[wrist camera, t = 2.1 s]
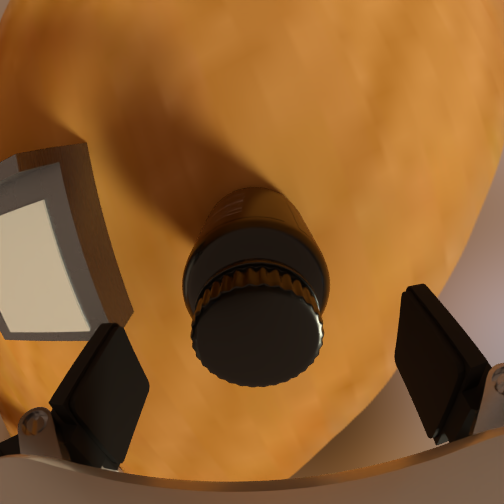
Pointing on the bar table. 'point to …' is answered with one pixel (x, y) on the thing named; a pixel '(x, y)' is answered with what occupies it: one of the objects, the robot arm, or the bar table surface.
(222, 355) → the supplement bottle
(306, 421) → the bar table surface
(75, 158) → the shelf block
